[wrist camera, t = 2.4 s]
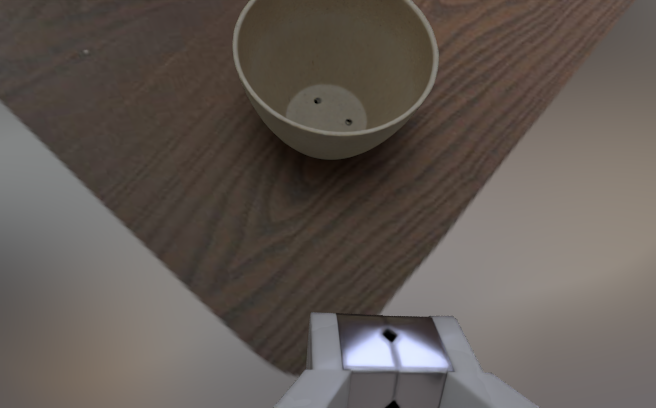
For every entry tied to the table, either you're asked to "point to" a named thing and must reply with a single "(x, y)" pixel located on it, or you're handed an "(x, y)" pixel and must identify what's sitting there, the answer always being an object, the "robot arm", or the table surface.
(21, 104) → the table surface
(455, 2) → the table surface
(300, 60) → the flower pot
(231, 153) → the table surface
